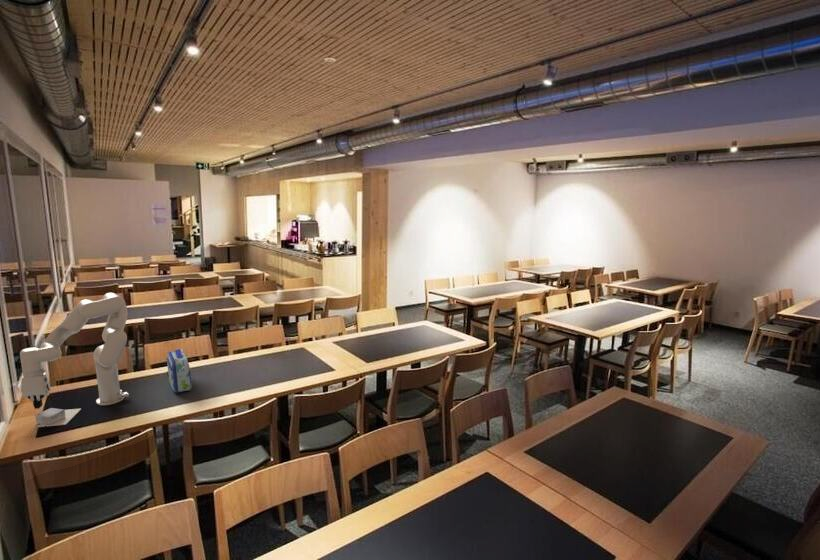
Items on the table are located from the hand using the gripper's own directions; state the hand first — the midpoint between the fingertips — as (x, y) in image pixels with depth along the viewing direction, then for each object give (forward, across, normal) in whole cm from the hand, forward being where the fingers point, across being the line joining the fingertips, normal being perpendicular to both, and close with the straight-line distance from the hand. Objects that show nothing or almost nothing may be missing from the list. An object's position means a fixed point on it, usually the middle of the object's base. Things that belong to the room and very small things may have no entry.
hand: (38, 407), depth 213 cm
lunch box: (+7, -57, -28) cm, 64 cm away
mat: (+7, -8, 0) cm, 11 cm away
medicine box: (+4, -2, +1) cm, 4 cm away
